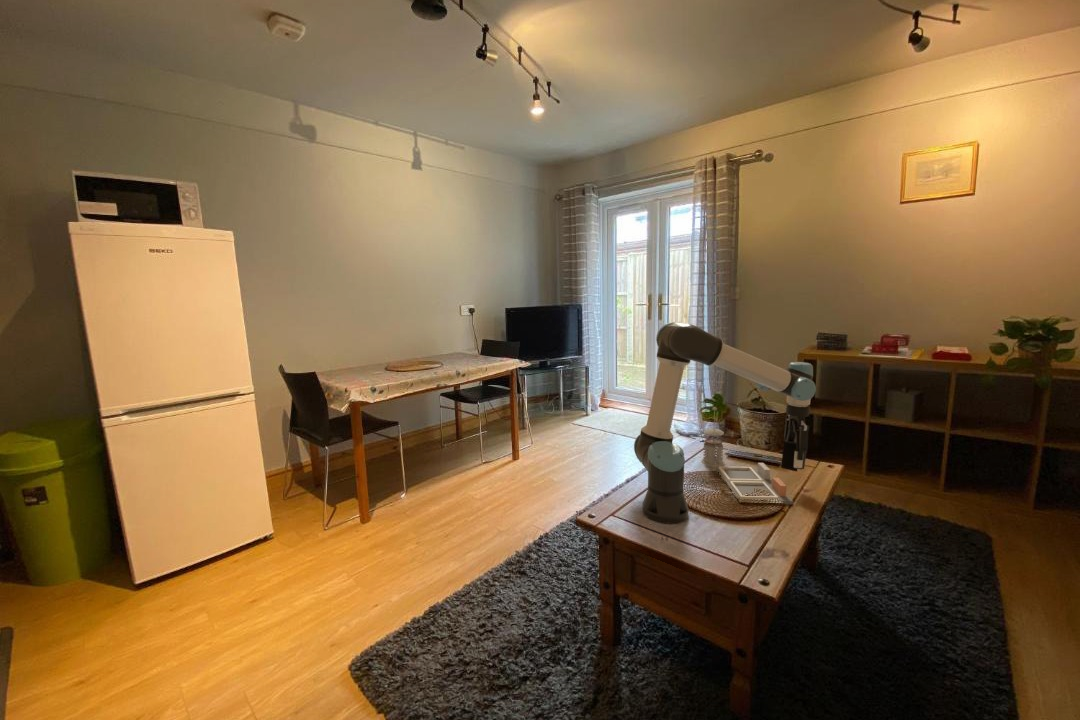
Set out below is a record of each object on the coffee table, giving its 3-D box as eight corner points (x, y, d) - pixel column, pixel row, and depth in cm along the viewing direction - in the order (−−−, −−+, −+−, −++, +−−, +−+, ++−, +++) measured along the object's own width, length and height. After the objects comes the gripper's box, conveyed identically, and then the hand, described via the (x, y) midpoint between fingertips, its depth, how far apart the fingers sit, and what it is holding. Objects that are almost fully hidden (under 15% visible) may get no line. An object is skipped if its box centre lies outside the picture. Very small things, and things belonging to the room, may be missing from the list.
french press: (720, 458, 194) (723, 404, 190) (729, 468, 183) (731, 411, 179) (698, 458, 195) (699, 404, 191) (705, 468, 184) (707, 411, 180)
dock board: (739, 503, 154) (739, 489, 153) (716, 470, 181) (716, 458, 180) (793, 504, 152) (794, 490, 151) (761, 471, 179) (762, 459, 178)
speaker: (795, 472, 158) (798, 444, 157) (780, 468, 163) (783, 440, 162) (808, 470, 162) (810, 443, 161) (793, 466, 167) (795, 439, 166)
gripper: (822, 411, 150) (817, 474, 153) (796, 398, 168) (792, 454, 172) (799, 411, 151) (794, 474, 154) (776, 397, 169) (772, 454, 173)
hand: (793, 463), depth 163 cm, fingers closed on speaker, 6 cm apart
